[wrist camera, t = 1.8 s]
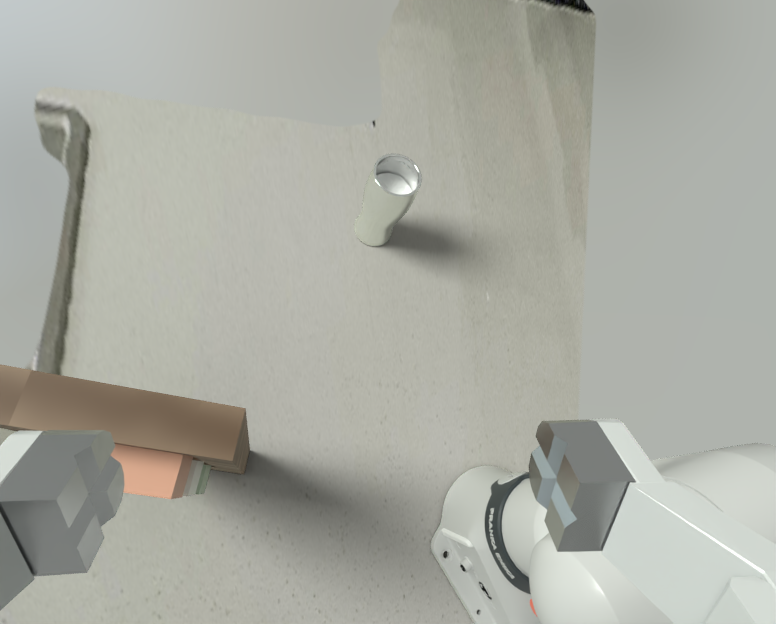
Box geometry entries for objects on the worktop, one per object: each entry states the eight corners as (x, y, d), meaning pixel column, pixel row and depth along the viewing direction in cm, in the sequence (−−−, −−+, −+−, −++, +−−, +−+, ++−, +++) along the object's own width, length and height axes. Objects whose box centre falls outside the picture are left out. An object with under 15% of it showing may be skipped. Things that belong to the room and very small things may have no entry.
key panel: (244, 474, 61) (232, 461, 28) (125, 456, 59) (-46, 417, 25) (249, 449, 63) (245, 408, 29) (134, 431, 60) (-20, 361, 26)
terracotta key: (182, 497, 33) (170, 499, 29) (53, 478, 32) (19, 477, 27) (198, 437, 35) (190, 429, 30) (76, 416, 33) (48, 405, 28)
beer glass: (400, 241, 78) (432, 190, 64) (362, 254, 76) (386, 203, 62) (382, 205, 80) (409, 146, 66) (343, 216, 77) (363, 158, 63)
